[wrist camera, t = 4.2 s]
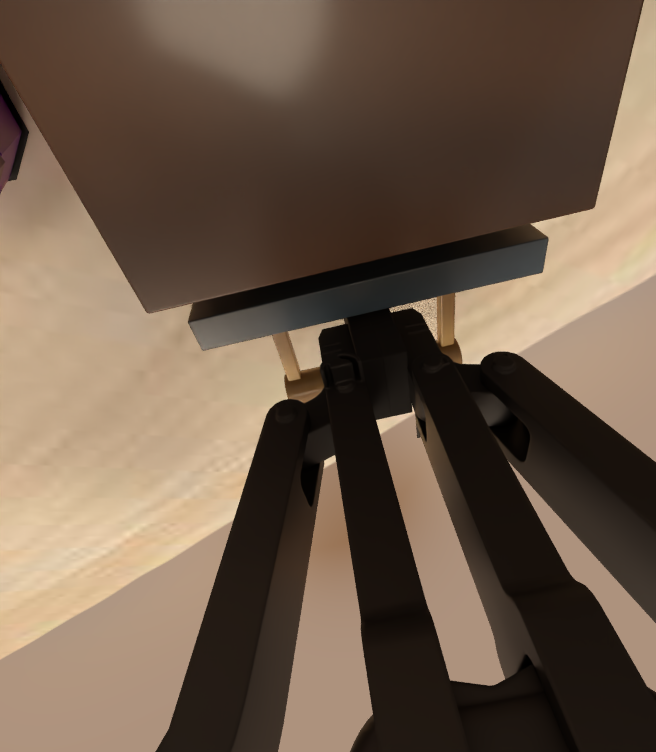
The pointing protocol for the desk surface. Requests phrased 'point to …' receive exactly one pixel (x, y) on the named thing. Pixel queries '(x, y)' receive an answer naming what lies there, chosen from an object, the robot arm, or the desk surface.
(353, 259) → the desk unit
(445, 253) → the drawer
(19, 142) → the potion bottle
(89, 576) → the desk surface
